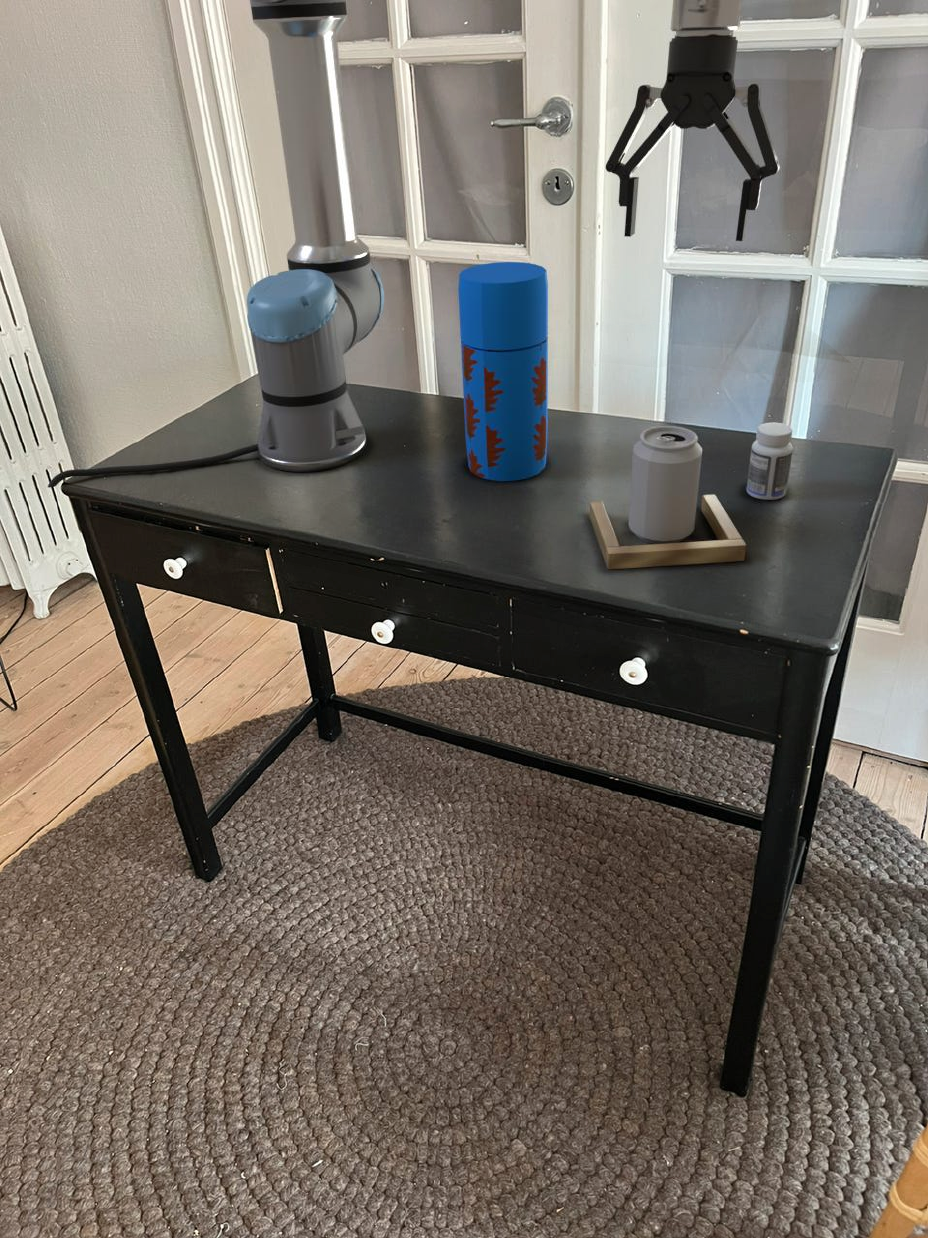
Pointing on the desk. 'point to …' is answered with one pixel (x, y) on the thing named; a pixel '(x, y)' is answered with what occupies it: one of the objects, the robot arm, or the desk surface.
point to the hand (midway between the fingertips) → (683, 237)
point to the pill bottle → (770, 461)
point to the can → (664, 484)
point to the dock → (673, 553)
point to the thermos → (505, 368)
